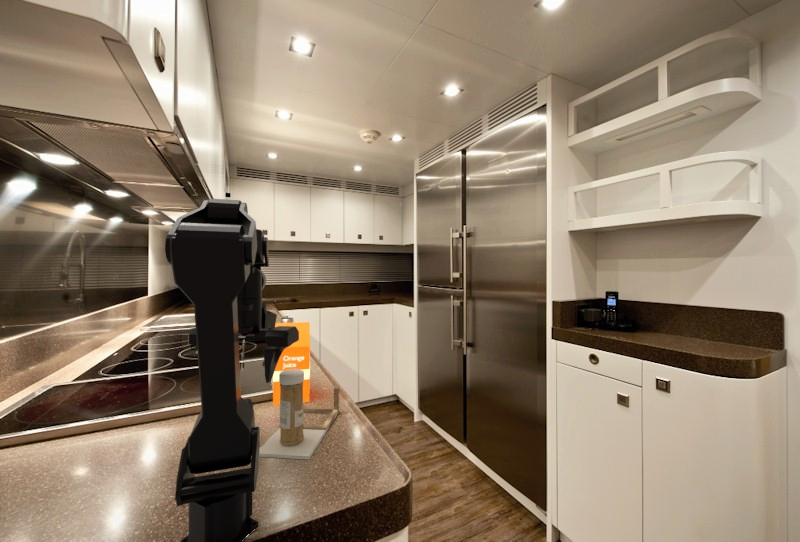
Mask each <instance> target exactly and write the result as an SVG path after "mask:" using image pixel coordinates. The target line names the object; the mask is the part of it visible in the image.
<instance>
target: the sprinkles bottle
mask: <svg viewBox="0 0 800 542" xmlns="http://www.w3.org/2000/svg"><path fill="white" fill-rule="evenodd" d="M303 381H304V371H303V370H300V369H289V370H285V371H282V372H281V373H280V374H279V383H280V405H279V426H280V443H281V444H282V445H285V446H292V445H296V444H298V443H300V442H301V441H302V440H303V439H304V435H303V425H304V412H303V406H304V403H303Z"/></svg>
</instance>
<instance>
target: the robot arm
mask: <svg viewBox="0 0 800 542" xmlns="http://www.w3.org/2000/svg"><path fill="white" fill-rule="evenodd" d="M201 203H202V204H201V205H200V207H198V208H196V209H194V210H191V211H189V212H187V213H185V214H183V215H181V216H179V217H177V218H176V220H175V221H174V223H173V224H172V227H171V228H170V230H169V231H168V233H167V236H166V238H165V244H164V252H165V258H166V260H167V263H168V264H169V265H171V268H172V275H173V281H174V284H175V286H177V288H178V289H179V290H180V291H181V292H182V293H183V295H185V296H186V298H187V299H188V300H189V301H190V302H191V303H192V304H193V308H194V311H193V312H194V322H195V323H194V324H195V327H193V328H191V330H190V332H189V333H188V335H187V337H188V339H187V341H188V342H187V343H188V345H194V350H196V351H197V363H198V378H199V393H200V394H199V395H200V405H201V411H200V413H199V414H198V416H197V418H196V421H195V423H194V425H193V427H192V430H191V432H190V435H189V436H188V438H187V440H186V441H185V442H186V444H185V445H184V447H183V448H182V449H181V453H180V457H179V464H178V469H177V476H176V483H175V497H174V501H175V503H176V507H180V506H181V507H182V506H184V505H188V535H186V536H185V537H183V538H182V539H181V540H180V542H243V541H244V540H245V539H246V538H245V537H246V536H247V535H248V534H250V533H251V532H252V531H253V530H254V529H256V528H257V527H258V528H259V525H260V523H259V521H258V520H256V519H253V518H252V516H253V493H255V492H256V486H257V481H258V475H259V470H260V469H259V468H260V465H259V464H260V457H259V449H260V444H261V443H260V442H261V440H260V439H261V437H260V436H261V435H260V434H261V432H260V431H261V430H260V429H261V428H260V426H259V425H258V426H256V423H255V422H256V421H255V420H256V419H255V418H256V417H255V410H254V403H253V401H252V400H251V398H245V399H244V398H243V397H242V393H241V392H242V391H241V389H242V388H241V372H240V371H241V367H240V363H241V362H240V347H239V346H240V341H264V343H265V344H266V345H267V346H266V347H264V348H263V362H264V363H263V364H264V377H265V378H264V379H265V383H267V384H269V383H271V381H273V374H274V371H275V368H276V366H277V363H278V360H279V358H280V356H281V354H282V352H283V350H284V349H285V348H287V347H289V346H291V345H292V344H293V343H295V342H297V341H299V331H298V329H297V328H296V326H277V327H275V324H276V323H277V317H278V316H277V314H276V313H274V312H273V311H270V310H267V304H266V301H263V290H264V288H265V287H266V284H267V277H266V275H265V272H264V271H263V270H262V268H263V267H264V268H270V257H269V256H270V255H269V254H270V253H269V239H268V237H266V236H265V233H264V231H262V230H261V229H258V228H257V223H256V220H255V219H254V218H253V217H252V216H251V215H249V213H248V212H249V209H248V204H247V202H242V201H241V200H239V199H238V200H237V199H225V198H224V199H223V198H209V199H207V200H206V199H205V200H203V201H202V202H201ZM249 465H250V467H248V466H249ZM242 467H245V468H242ZM246 467H247V468H246ZM236 468H241V469H236ZM231 469H234V470H231ZM223 470H225V471H223ZM226 470H229V471H226ZM218 471H222V472H218ZM211 472H213V473H211ZM214 472H216V473H214ZM207 473H209V474H207ZM199 474H200V475H199ZM201 474H204V475H201ZM195 475H198V476H195ZM258 528H257V529H258ZM257 529H256V530H257ZM253 532H254V531H253ZM253 532H252V533H253ZM252 533H251V534H252ZM251 534H250V535H251ZM244 538H245V539H244ZM243 539H244V540H243ZM242 540H243V541H242Z"/></svg>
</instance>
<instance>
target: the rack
mask: <svg viewBox="0 0 800 542" xmlns="http://www.w3.org/2000/svg"><path fill="white" fill-rule="evenodd" d="M339 412H340V386H335V387H333V407H328V406H326V407H321V406H305V405H303V414H304V413H305V414H306V413H307V414H326V413H330V414H329V416H328V417H327V419H326V421H325V422H324V423H323V424H322V425H319V424H318V425H316V424H315V425H314V424H303V429H314V430H326V429H327V431H328V430H329V429H330V427H331V426H332V423H334V421H335V419H336V418H337V416H338V415H339ZM337 414H338V415H337ZM279 428H280V425H279ZM279 428H278V429H279Z"/></svg>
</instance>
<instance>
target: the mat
mask: <svg viewBox="0 0 800 542" xmlns="http://www.w3.org/2000/svg"><path fill="white" fill-rule="evenodd" d="M327 432H328V430H327V429H326V430H314V429H303V435H304V439H303V440H302V441H301V442H300V443H298V444H296V445H292V446H285V445H282V444H281V443H280V428H278V429H277V430H276V431H275V432H274V433H273V434H272V435H271V436H270V437H269V438H268V439H267V440H266V442H265V443H263V445H262V446H260V447H259V458H275V459H293V460H294V459H295V460H310V459H311V458H312V456H313V454H314V453H315V451H316V449H318V446H319V444H320V443H321V441H322V440H323V438H324V437H325V435H326V433H327Z"/></svg>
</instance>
